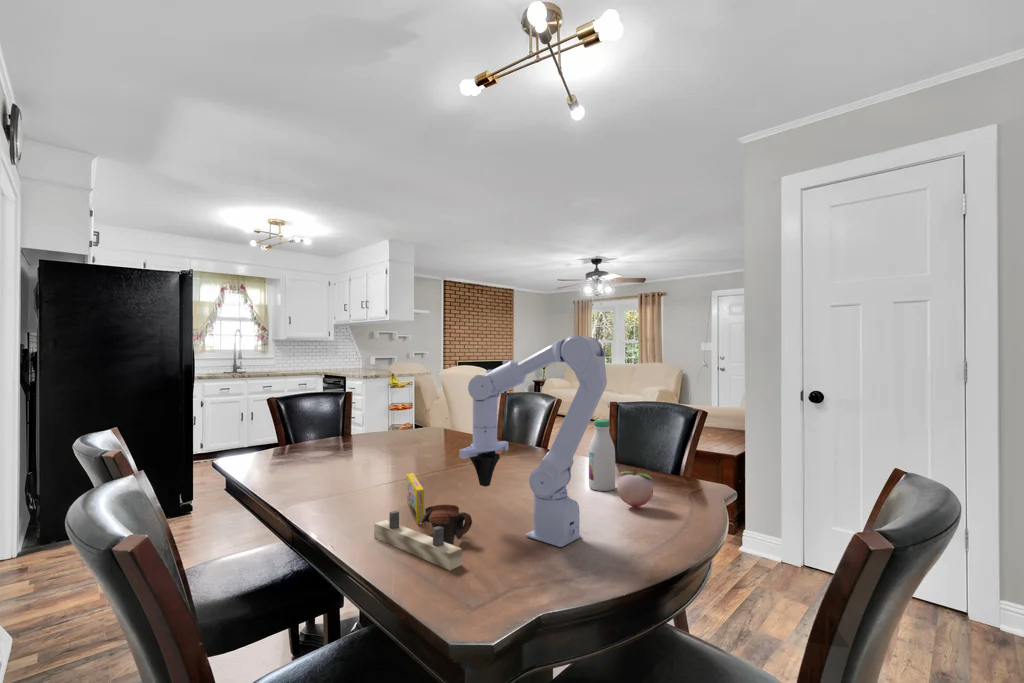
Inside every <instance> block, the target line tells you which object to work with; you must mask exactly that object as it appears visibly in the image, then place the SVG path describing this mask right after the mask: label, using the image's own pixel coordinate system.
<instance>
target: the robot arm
mask: <svg viewBox="0 0 1024 683" xmlns="http://www.w3.org/2000/svg"><path fill="white" fill-rule="evenodd" d="M554 363H566V365H567V366H569V368H570V369H571V370H572V371H573V373H574V374H575V376H576V379H577V382H579V385H578V388H577V390H576V392H575V395H574V397H573V399H572V401H571V403H570V406H569V407H568V410H567V412H566V415H565V416H564V419H563V420H562V423H561V425H560V427H559V429H558V431H557V434H556V435H555V439H554V441H553V443H552V445H551V447H550V449H549V450H548V452H547V453H546V454H545V456H544V457H543V458H542V459H541V462H540V464H539V465H538V467H536V468H535V469H533V471H532V472H530V475H529V479H528V481H529V483H528V484H529V487H530V490H531V491H532V492H533V511H534V512H533V530H531V531H529V532H526V533H525V537H526V538H531V539H534V540H536V541H539V542H543V543H546V544H549V545H552V546H555V547H559V548H563V547H564V546H566V545H568V544H570V543H572V542H574V541H576V540H578V539H580V538H582V534H581V533H580V506H579V503H578V501H577V500H575V499H573V498H571V497H570V496H569V495H568V488H567V485H569V483H570V481H571V478H572V467H573V465H574V456H575V454H576V452H577V449H578V447H579V445H580V443H581V441H582V439H583V437H584V434H585V432H586V430H587V428H588V426H589V424H590V422H591V420H592V417H593V415H594V413H595V411H596V408H597V407H598V405H599V402H600V400H601V398H602V396H603V394H604V392H605V389H606V387H607V384H608V381H607V372H606V371H607V370H606V352H605V350H604V348H603V347H602V345H601V343H600V341H599V340H598V339H597V338H595V337H592V336H582V335H578V334H575V335H570V336H568V337H566V338H565V339H563V338H562V339H559V340H557V341H555V342H554V343H552V344H550V345H548V346H546V347H544V348H543V349H540V351H538V352H536V353H534V354H532V355H531V356H530V355H529V356H528V357H527V358H525V359H523V360H521V361H520V362H519V361H517V360H516V359H511V360H510V359H505V360H503V361H502V365H500V366H498V367H496V368H493V369H487V370H486V371H485V372H486V373H485V374H476V375H474V376H473V377H472V378H471V379H470V380H469V382H468V386H467V390H468V394H469V395H470V397H471V398H472V443H470V446H467V447H464V448H461V449H458V450H459V451H458V452H459V453H458V457H459V459H463V460H467V459H469V460H470V461H471V463H472V465H473V467H474V468H475V469H474V470H475V471H476V475H477V478H478V484H479V485H480V486H481V487H485V488H487V487H489V486H491V482H492V477H493V474H494V471H495V468H496V466H497V464H498V462H499V460H500V459H501V458H500V457H501V455H500V454H499V453H497V452H501V451H509V441H504V440H501V441H498V398H499V397H500V395H501V394H502V393H505V392H507V391H509V390H512V389H513V388H516V387H517V386H520V385H521V384H524V382H525V381H526V378H527V376H528V375H529V374H532V373H535V372H537V371H539V370H541V369H543V368H546V367H547V366H550V365H552V364H554Z"/></svg>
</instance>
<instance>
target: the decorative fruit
mask: <svg viewBox="0 0 1024 683" xmlns="http://www.w3.org/2000/svg"><path fill="white" fill-rule="evenodd" d="M633 470H634V472H632V471H629V470H627V471H620V472H619V473H618V474H617V475H616V476H619V478H618V480H617V482H616V483H617V485H616V490H617V494H618V496H619V497H620V499H621V500H622V502H624V503H625V504H626V505H628V506H631V507H632V508H634V509H636V508H639V507H642V506H644V505H646V504H647V503H649V502H650V500H651V499H652V497H653V494H654V485H653V482H655V481H654V478H652V477H651V476H650V475H649V474H647V473H643V472H638V473H637V472H636V471H637V470H636V468H634V469H633ZM652 481H653V482H652Z"/></svg>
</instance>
